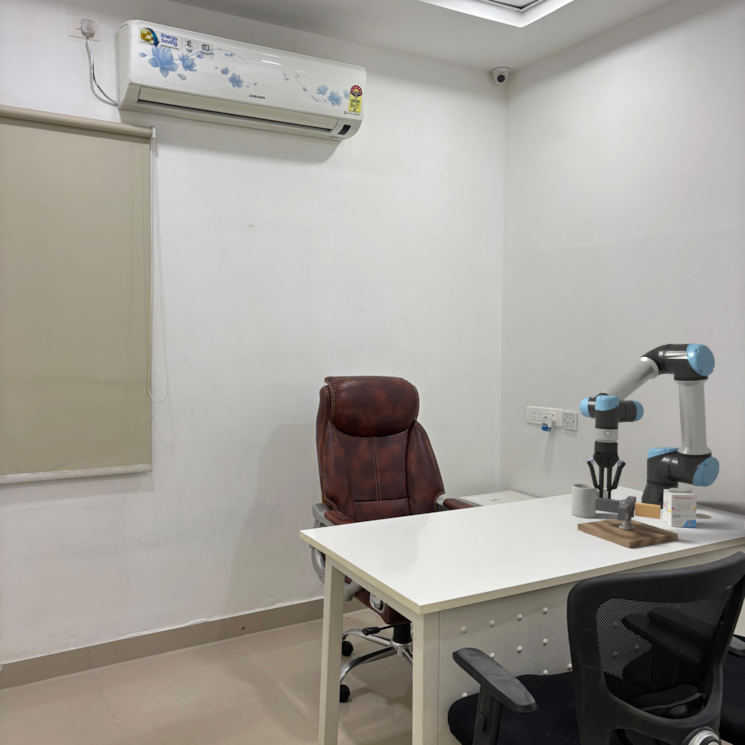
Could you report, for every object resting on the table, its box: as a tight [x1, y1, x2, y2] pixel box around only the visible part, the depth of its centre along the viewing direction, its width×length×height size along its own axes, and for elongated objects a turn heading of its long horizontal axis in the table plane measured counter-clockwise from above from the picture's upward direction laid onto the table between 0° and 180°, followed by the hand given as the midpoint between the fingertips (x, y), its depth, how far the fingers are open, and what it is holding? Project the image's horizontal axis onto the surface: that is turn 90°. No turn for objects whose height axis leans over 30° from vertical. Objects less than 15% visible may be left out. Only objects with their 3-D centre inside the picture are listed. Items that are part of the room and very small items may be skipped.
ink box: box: [662, 487, 698, 528], centre depth 226 cm, size 9×8×13 cm
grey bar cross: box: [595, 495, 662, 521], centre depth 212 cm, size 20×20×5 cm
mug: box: [571, 483, 599, 519], centre depth 237 cm, size 12×8×11 cm
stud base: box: [577, 517, 679, 549], centre depth 212 cm, size 22×22×6 cm
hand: (604, 509), depth 218 cm, fingers closed
